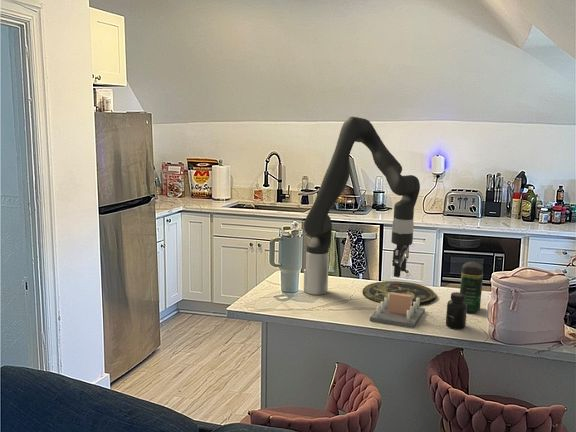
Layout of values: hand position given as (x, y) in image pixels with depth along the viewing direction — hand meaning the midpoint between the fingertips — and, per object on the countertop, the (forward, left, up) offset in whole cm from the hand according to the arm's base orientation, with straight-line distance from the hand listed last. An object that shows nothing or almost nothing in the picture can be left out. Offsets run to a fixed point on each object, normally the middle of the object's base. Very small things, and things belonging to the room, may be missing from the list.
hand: (399, 273), depth 219 cm
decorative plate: (-6, +26, -17) cm, 32 cm away
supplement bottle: (+21, -1, -17) cm, 27 cm away
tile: (+1, 0, -15) cm, 15 cm away
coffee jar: (+23, +20, -17) cm, 35 cm away
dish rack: (0, 0, -16) cm, 16 cm away
